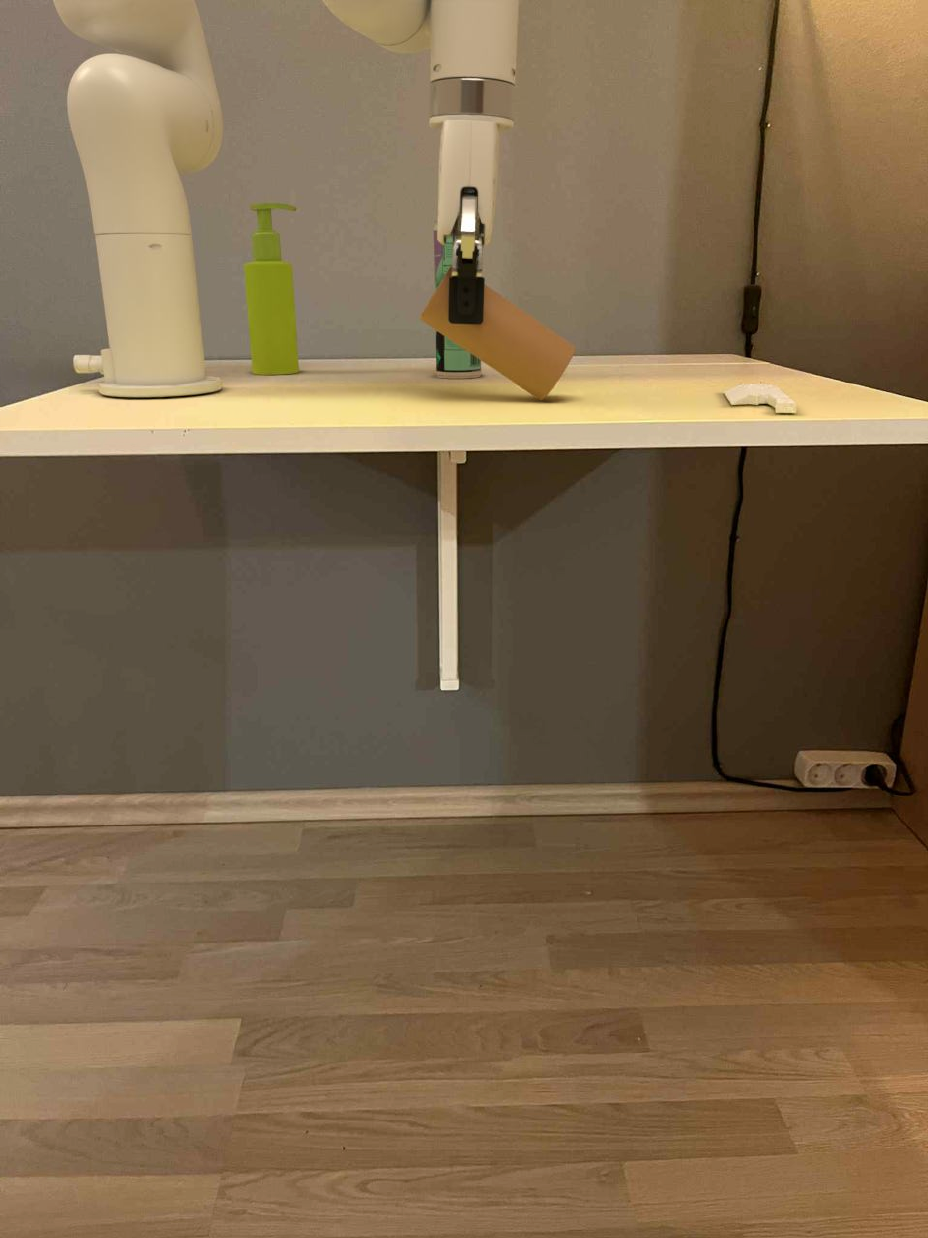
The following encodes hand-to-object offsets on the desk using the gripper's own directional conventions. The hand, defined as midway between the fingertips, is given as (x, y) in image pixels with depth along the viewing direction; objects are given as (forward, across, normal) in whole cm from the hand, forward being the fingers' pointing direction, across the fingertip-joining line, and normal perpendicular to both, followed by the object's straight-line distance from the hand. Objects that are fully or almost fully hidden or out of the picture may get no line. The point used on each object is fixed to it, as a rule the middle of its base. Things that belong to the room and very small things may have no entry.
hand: (465, 319), depth 90 cm
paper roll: (+4, 0, +2) cm, 4 cm away
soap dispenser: (+9, -31, -24) cm, 40 cm away
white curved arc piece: (+7, +4, +28) cm, 29 cm away
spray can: (+8, -24, -1) cm, 25 cm away
